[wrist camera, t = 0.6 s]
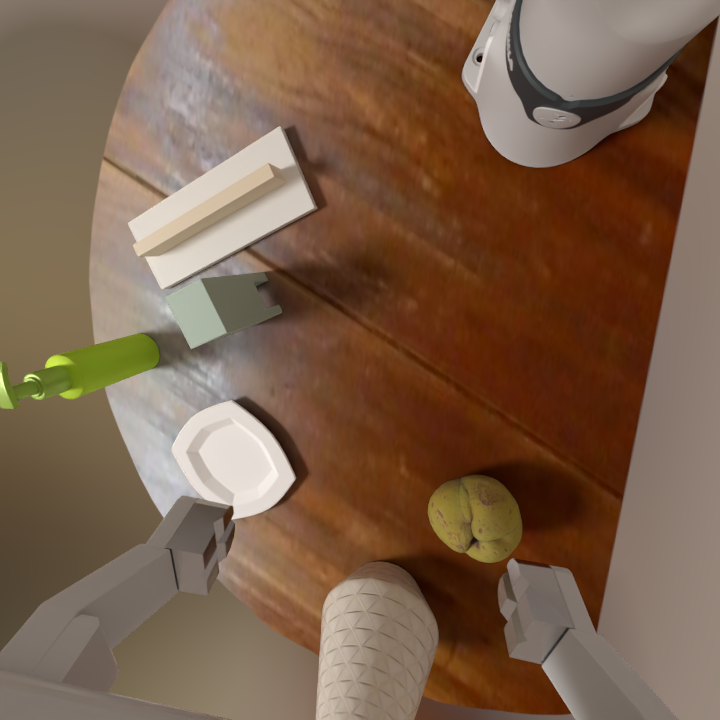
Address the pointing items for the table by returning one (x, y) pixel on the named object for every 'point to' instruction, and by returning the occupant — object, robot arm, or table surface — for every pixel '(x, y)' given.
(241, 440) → the plate
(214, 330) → the tall rectangular block
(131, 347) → the soap dispenser
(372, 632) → the vase
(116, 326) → the table surface
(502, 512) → the fruit
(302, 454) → the table surface
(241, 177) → the rail board
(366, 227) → the table surface
